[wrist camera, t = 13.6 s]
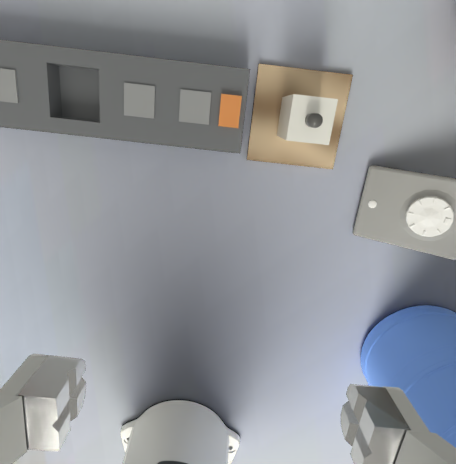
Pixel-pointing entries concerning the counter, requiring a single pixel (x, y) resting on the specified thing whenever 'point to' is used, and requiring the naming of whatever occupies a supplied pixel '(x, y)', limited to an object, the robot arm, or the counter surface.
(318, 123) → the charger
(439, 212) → the light switch
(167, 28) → the counter surface
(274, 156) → the cork pad
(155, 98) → the power strip
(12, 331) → the counter surface
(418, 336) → the water jug
